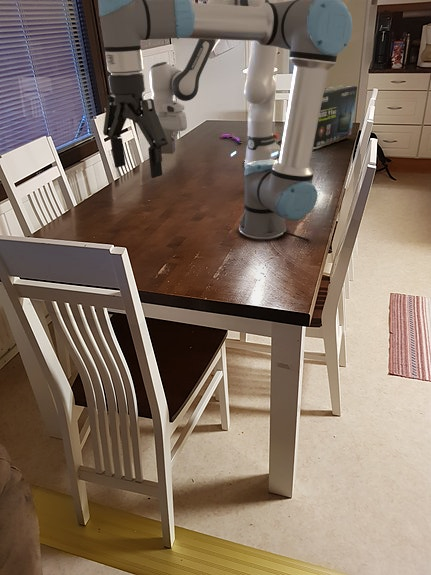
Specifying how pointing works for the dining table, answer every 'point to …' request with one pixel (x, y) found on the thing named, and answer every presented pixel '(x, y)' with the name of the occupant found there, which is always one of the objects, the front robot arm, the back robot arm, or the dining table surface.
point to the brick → (171, 145)
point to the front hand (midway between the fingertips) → (138, 171)
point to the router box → (335, 114)
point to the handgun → (232, 138)
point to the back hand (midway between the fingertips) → (166, 140)
